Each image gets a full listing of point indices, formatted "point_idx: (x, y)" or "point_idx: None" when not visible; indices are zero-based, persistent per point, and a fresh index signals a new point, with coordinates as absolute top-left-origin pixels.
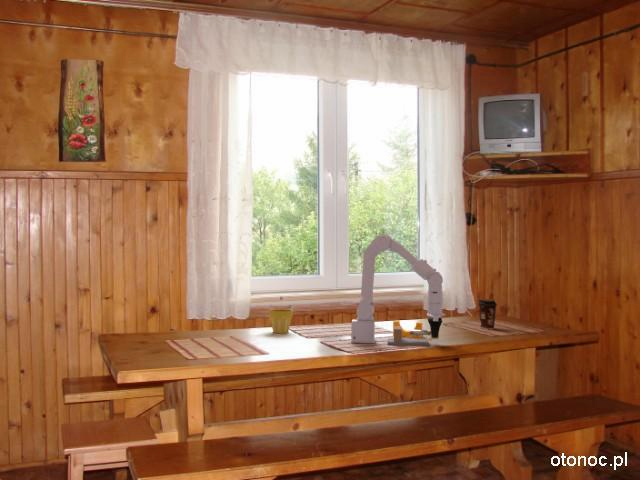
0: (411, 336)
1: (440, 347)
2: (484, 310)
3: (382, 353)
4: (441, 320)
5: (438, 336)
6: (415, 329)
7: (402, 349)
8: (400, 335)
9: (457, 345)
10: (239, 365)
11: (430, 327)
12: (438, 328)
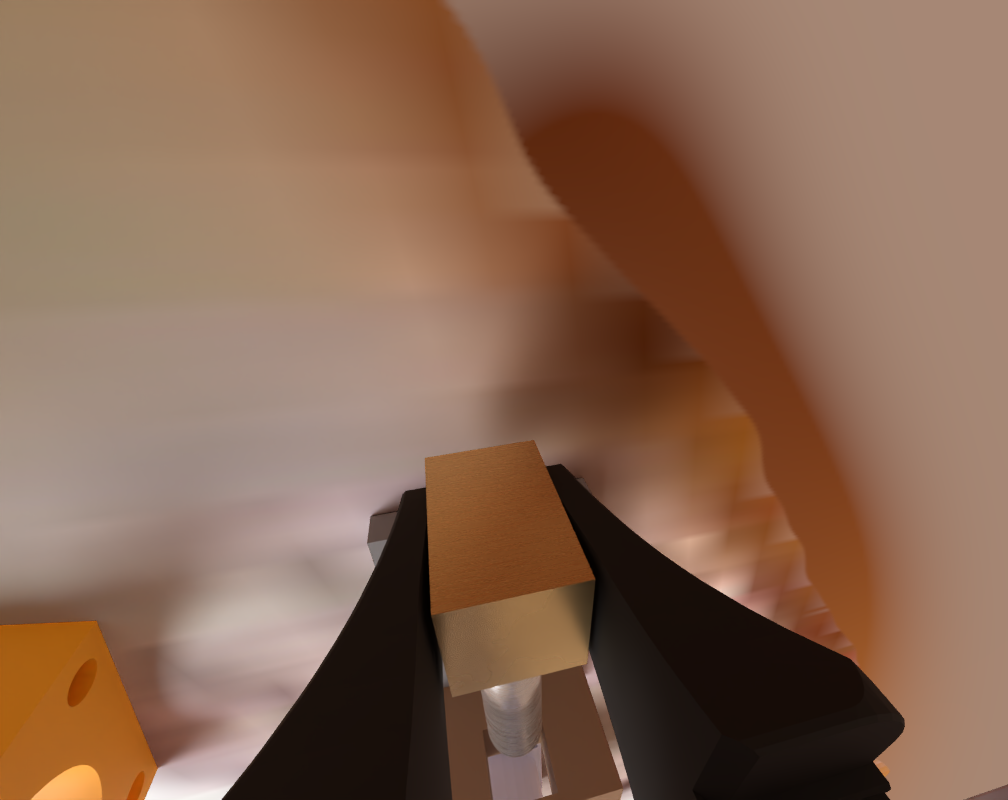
0: (114, 692)
1: (657, 364)
2: None
3: (825, 625)
4: (750, 767)
5: (544, 467)
6: (41, 773)
7: (728, 588)
8: (597, 720)
9: (482, 128)
10: (882, 771)
11: (441, 685)
12: (667, 572)
